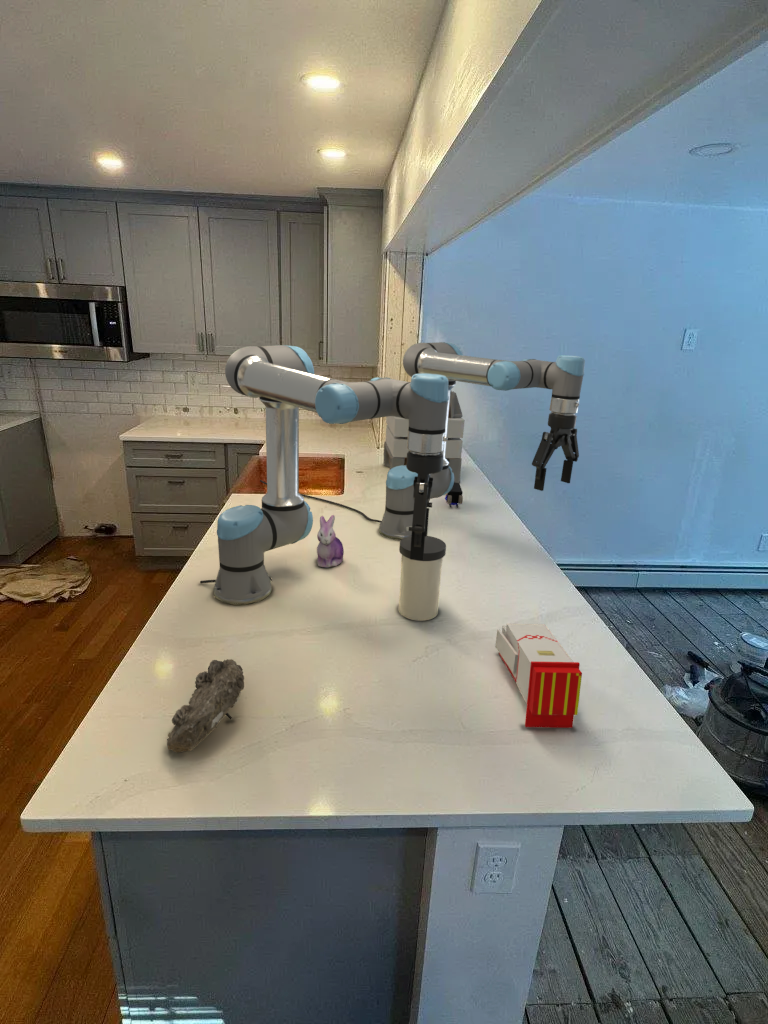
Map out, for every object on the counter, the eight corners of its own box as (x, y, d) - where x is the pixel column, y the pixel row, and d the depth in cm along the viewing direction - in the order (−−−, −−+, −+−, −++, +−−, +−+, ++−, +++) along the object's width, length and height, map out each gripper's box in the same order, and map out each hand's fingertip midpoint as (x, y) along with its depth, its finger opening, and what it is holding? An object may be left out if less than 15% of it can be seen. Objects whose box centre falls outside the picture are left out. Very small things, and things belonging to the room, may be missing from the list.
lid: (413, 539, 152) (414, 531, 151) (453, 550, 146) (453, 542, 145) (390, 553, 142) (391, 545, 141) (431, 565, 136) (432, 557, 136)
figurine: (321, 571, 169) (321, 524, 164) (309, 557, 177) (309, 512, 172) (350, 565, 173) (351, 520, 168) (337, 553, 182) (338, 509, 177)
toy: (542, 608, 134) (591, 669, 104) (537, 660, 136) (583, 734, 107) (491, 607, 133) (526, 668, 104) (487, 660, 136) (520, 733, 107)
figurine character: (463, 512, 227) (458, 497, 241) (465, 495, 224) (459, 480, 237) (446, 512, 227) (442, 496, 241) (448, 495, 224) (444, 480, 237)
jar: (410, 597, 156) (415, 534, 150) (444, 608, 151) (450, 544, 145) (391, 612, 148) (394, 546, 142) (426, 625, 143) (431, 557, 137)
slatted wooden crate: (382, 463, 289) (386, 382, 275) (445, 464, 293) (451, 384, 279) (390, 482, 257) (394, 392, 243) (460, 483, 261) (468, 394, 247)
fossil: (192, 660, 117) (244, 628, 112) (224, 691, 120) (276, 661, 115) (142, 746, 98) (202, 712, 93) (182, 779, 101) (242, 748, 96)
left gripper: (441, 468, 104) (433, 572, 111) (445, 439, 128) (438, 527, 135) (401, 465, 105) (395, 569, 112) (412, 437, 128) (407, 525, 136)
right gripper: (548, 419, 148) (537, 496, 155) (598, 411, 163) (586, 482, 171) (525, 414, 153) (515, 489, 160) (575, 407, 169) (564, 476, 176)
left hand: (419, 546), depth 124 cm, fingers open, 13 cm apart
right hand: (552, 485), depth 166 cm, fingers open, 13 cm apart
